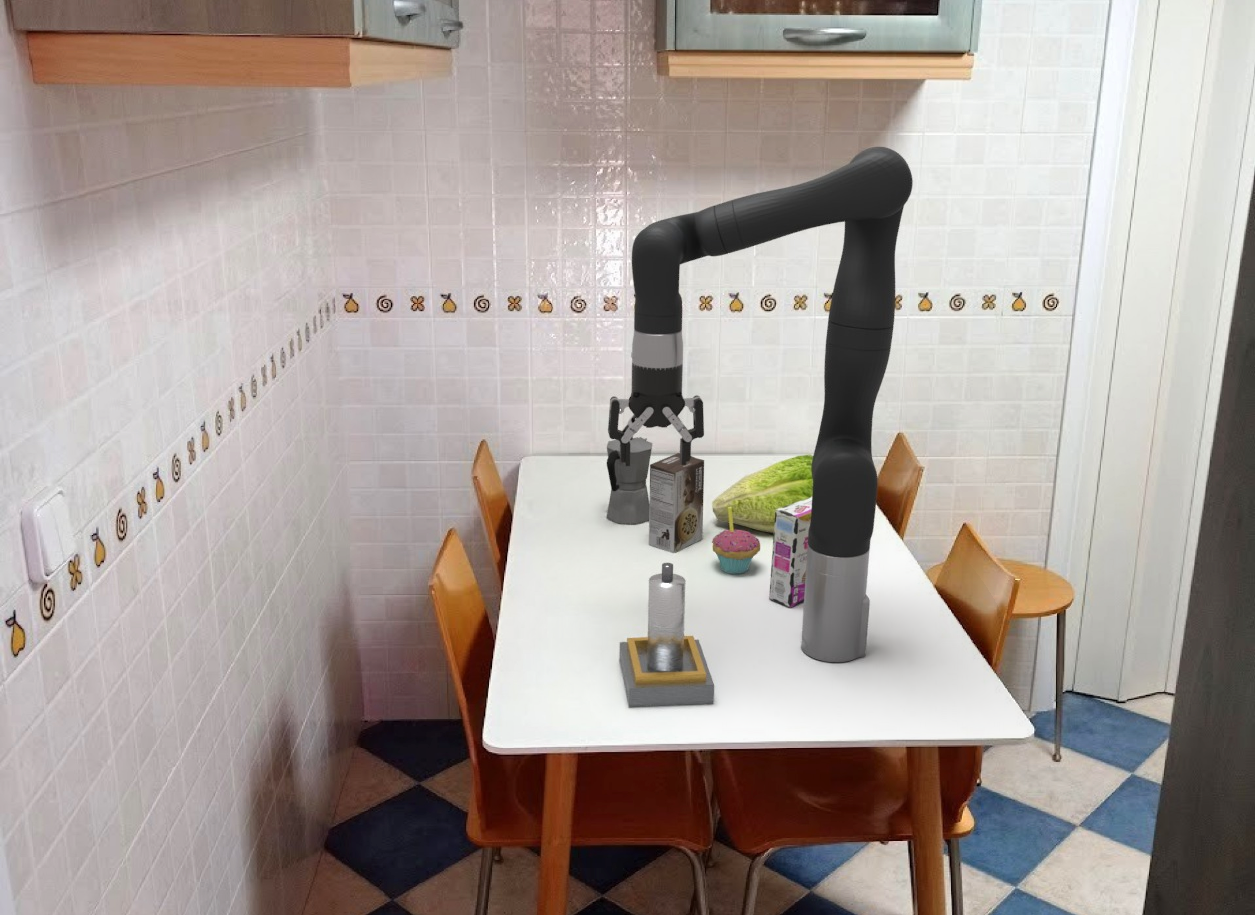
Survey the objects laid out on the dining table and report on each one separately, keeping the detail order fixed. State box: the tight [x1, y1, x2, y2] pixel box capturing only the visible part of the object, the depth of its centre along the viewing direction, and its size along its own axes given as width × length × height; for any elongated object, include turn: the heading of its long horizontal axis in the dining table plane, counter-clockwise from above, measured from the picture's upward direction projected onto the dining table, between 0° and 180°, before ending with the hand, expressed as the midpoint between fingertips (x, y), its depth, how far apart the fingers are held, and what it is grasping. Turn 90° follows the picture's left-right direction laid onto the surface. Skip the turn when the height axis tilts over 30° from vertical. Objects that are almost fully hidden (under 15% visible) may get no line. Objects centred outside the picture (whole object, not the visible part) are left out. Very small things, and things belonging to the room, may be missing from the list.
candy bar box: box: [768, 497, 812, 608], centre depth 203 cm, size 11×5×16 cm, turn 135°
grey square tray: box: [618, 635, 715, 708], centre depth 175 cm, size 12×14×4 cm
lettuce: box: [711, 454, 813, 534], centre depth 234 cm, size 15×24×16 cm
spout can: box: [647, 562, 687, 671], centre depth 173 cm, size 5×5×15 cm
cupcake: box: [711, 503, 761, 575], centre depth 214 cm, size 9×8×12 cm
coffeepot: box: [606, 436, 653, 526], centre depth 236 cm, size 15×9×18 cm, turn 153°
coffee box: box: [648, 452, 705, 554], centre depth 224 cm, size 9×6×16 cm
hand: (655, 464), depth 182 cm, fingers open, 8 cm apart
